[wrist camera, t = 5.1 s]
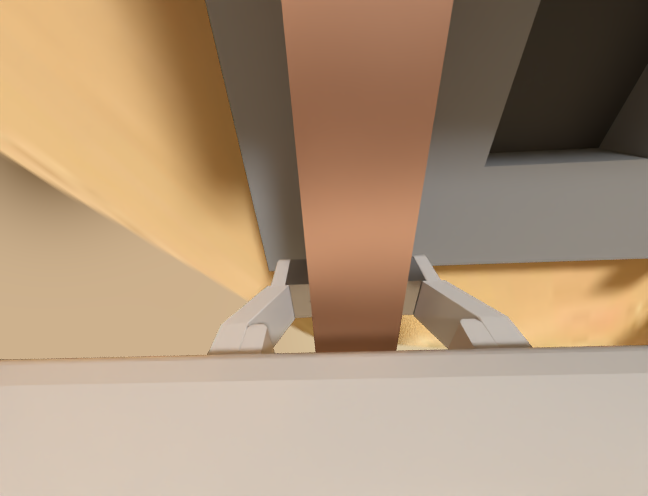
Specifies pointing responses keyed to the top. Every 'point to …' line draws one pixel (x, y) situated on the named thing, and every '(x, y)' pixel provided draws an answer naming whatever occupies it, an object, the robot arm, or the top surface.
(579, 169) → the board
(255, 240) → the top surface
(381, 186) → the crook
